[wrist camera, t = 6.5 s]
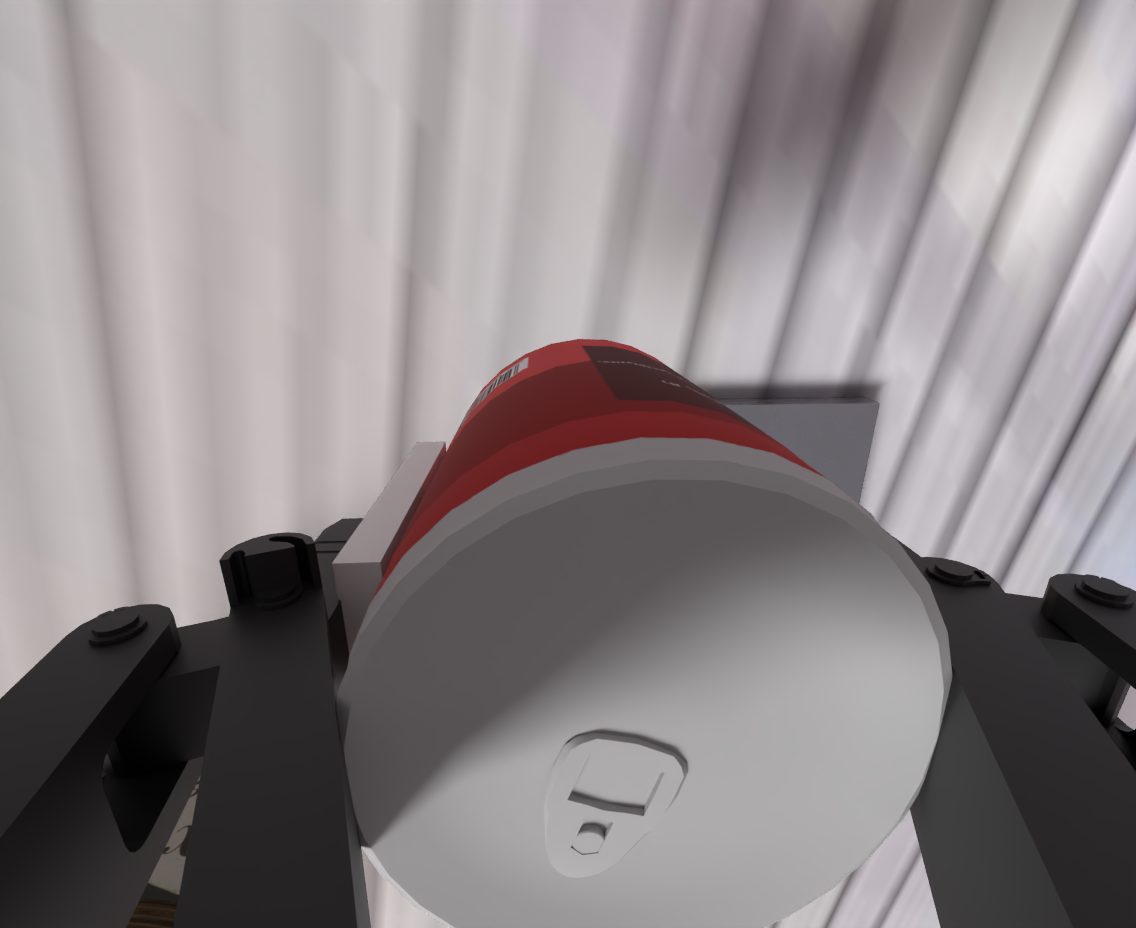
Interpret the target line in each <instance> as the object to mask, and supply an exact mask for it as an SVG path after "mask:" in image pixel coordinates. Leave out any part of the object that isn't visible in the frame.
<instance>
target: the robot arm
mask: <svg viewBox="0 0 1136 928" xmlns="http://www.w3.org/2000/svg"><path fill="white" fill-rule="evenodd" d="M445 454H446V444H445V442H417V443H416V445H415V446H414V448H413V449H412V450H411V452H410V453H409V455H408V456H407V458H406V459H405V460H404V462H403V463H402V465H401V466H400V467H399V469H398V470H397V472H396V473H395V475H394V476H393V477H392V479H391V480H390V482H389V483H388V485H387V486H386V487H385V489H384V490H383V492H382V493H381V494H380V496H379V497H378V499H377V500H376V502H375V503H374V504H373V506H372V507H371V509H370V510H369V511H368V513H367V514H366V516H365V517H364V518H357V519H342V520H340V521H338V522H336V523H335V524H333V525H331V526H330V527H328V528H326V529H325V530H324V531H323V532H322V533H321V534H320V536H319V537H318V538H317V539H316V540H315V542H314V541H313V539H312V538H311V537H310V536H307V535H304V534H301V533H277V534H269V535H265V536H261V537H257V538H253V539H250V540H248V541H245V542H243V543H240V544H238V545H236V546H234V547H233V548H231V549H230V550H228V551H227V552H225V553H224V555H223V556H222V558H221V559H220V561H219V562H220V566H221V570H222V574H223V578H224V582H225V586H226V590H227V595H228V599H229V603H230V607H231V609H230V614H229V617H225V618H221V619H218V620H213V621H209V622H204V623H199V624H194V625H189V626H184V627H179V628H177V627H176V623H175V620H174V616H173V614H172V612H171V610H170V608H168V607H165V606H162V605H159V604H144V605H137V606H131V607H121V608H118V609H114V611H108V612H105V613H103V614H100V615H99V616H98V617H96V618H94V619H92V620H90V621H88V622H86V623H84V624H82V625H80V626H79V627H78V628H76V629H75V630H74V631H72V632H71V633H69V634H68V635H67V636H66V637H65V638H64V639H62V640H61V641H60V642H59V643H58V644H57V645H56V646H55V647H54V648H53V649H52V650H51V651H50V652H49V653H48V654H47V655H46V656H45V657H44V658H43V659H42V660H40V661H39V662H38V663H37V664H36V665H35V666H34V667H33V668H32V669H31V670H30V671H29V672H28V673H27V674H26V675H25V676H24V677H23V678H22V679H21V680H20V681H19V682H17V683H16V684H15V685H14V686H13V687H12V688H11V689H10V690H9V691H8V692H7V693H6V694H5V695H4V696H3V697H2V698H1V699H0V928H126V927H127V925H128V923H129V920H130V918H131V916H132V914H133V912H134V910H135V908H136V906H137V904H138V902H139V900H140V898H141V896H142V894H143V892H144V890H145V888H146V886H147V884H148V882H149V880H150V877H151V875H152V873H153V871H154V869H155V867H156V865H157V863H158V861H159V859H160V857H161V855H162V853H163V851H164V849H165V847H166V845H167V843H168V841H169V839H170V837H171V834H172V832H173V830H174V828H175V826H176V824H177V822H178V820H179V818H180V816H181V814H182V812H183V810H184V808H185V806H186V804H187V802H188V800H189V798H190V796H191V794H192V791H193V789H194V787H195V785H196V783H197V781H198V779H199V777H200V781H199V787H198V792H197V798H196V804H195V809H194V815H193V820H192V826H191V831H190V837H189V843H188V848H187V854H186V859H185V865H184V870H183V876H182V882H181V887H180V893H179V898H178V904H177V909H176V915H175V921H174V926H173V928H371V924H370V916H369V908H368V900H367V892H366V884H365V876H364V867H363V859H362V851H361V844H360V839H359V834H358V829H357V824H356V818H355V813H354V807H353V802H352V796H351V791H350V785H349V780H348V774H347V769H346V763H345V758H344V752H343V746H342V740H341V734H340V729H339V723H338V717H337V711H336V705H337V698H338V691H339V687H340V685H341V682H342V680H343V677H344V675H345V672H346V670H347V667H348V661H349V654H350V652H351V649H352V647H353V644H354V642H355V639H356V637H357V635H358V632H359V630H360V627H361V625H362V622H363V620H364V617H365V615H366V612H367V610H368V607H369V605H370V603H371V601H372V599H373V597H374V595H375V593H376V591H377V589H378V587H379V585H380V583H381V581H382V579H383V577H384V575H385V572H386V570H387V567H388V565H389V562H390V560H391V557H392V555H393V553H394V552H395V550H396V548H397V546H398V544H399V542H400V540H401V538H402V536H403V534H404V532H405V530H406V529H407V527H408V525H409V523H410V521H411V519H412V517H413V515H414V513H415V511H416V509H417V507H418V506H419V504H420V502H421V500H422V498H423V496H424V494H425V492H426V490H427V488H428V486H429V484H430V483H431V481H432V479H433V477H434V475H435V473H436V471H437V469H438V467H439V465H440V463H441V461H442V460H443V458H444V456H445ZM894 538H895V537H894ZM895 539H896V538H895ZM896 540H897V539H896ZM897 541H898V542H899V544H900V545H901V546H902V548H903V549H904V550H905V552H906V553H907V554H908V556H909V557H910V559H911V560H912V561H913V563H914V564H915V565H916V567H917V568H918V569H919V571H920V572H921V573H922V575H923V576H924V578H925V579H926V580H927V582H928V583H929V585H930V587H931V590H932V592H933V595H934V598H935V600H936V603H937V605H938V608H939V611H940V613H941V616H942V618H943V621H944V624H945V626H946V629H947V631H948V639H949V649H950V658H951V667H952V681H951V686H950V690H949V694H948V699H947V703H946V707H945V711H944V715H943V720H942V724H941V728H940V732H939V736H938V740H937V743H936V746H935V749H934V752H933V755H932V758H931V761H930V765H929V768H928V771H927V774H926V777H925V780H924V782H923V785H922V787H921V789H920V791H919V794H918V796H917V797H916V799H915V801H914V802H913V804H912V806H911V807H910V811H911V815H912V819H913V823H914V826H915V830H916V834H917V838H918V842H919V846H920V850H921V853H922V857H923V861H924V865H925V869H926V873H927V877H928V880H929V884H930V888H931V892H932V896H933V900H934V904H935V907H936V911H937V915H938V919H939V923H940V927H941V928H1136V729H1135V730H1133V729H1131V728H1130V727H1128V726H1127V725H1126V724H1125V723H1124V722H1123V721H1121V720H1120V719H1119V718H1118V717H1117V716H1118V713H1119V711H1120V709H1121V706H1122V704H1123V702H1124V699H1125V697H1126V695H1127V692H1128V690H1129V688H1130V685H1131V686H1132V687H1133V688H1135V689H1136V591H1134V590H1132V589H1130V588H1127V587H1125V586H1122V585H1120V584H1118V583H1116V582H1115V581H1113V580H1110V579H1106V578H1103V577H1101V578H1099V576H1094V575H1088V574H1087V575H1078V574H1057V575H1055V576H1053V577H1051V578H1050V579H1049V582H1048V585H1047V588H1046V591H1045V594H1044V597H1043V598H1038V597H1030V596H1023V595H1016V594H1008V593H1005V592H1004V591H1003V589H1002V588H1001V587H1000V585H999V584H998V583H997V582H996V581H995V580H994V579H993V578H992V577H991V576H989V575H988V574H986V573H985V572H984V571H981V570H979V569H977V568H975V567H972V566H969V565H966V564H964V563H961V562H958V561H953V560H948V559H944V558H934V557H923V558H922V557H920V556H919V555H918V554H916V553H915V552H914V551H912V550H911V549H909V548H908V547H907V546H905V545H904V544H903V543H901V542H900V541H899V540H897ZM200 775H201V776H200Z"/></svg>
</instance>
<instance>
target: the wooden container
mask: <svg viewBox="0 0 1136 928" xmlns="http://www.w3.org/2000/svg"><path fill="white" fill-rule="evenodd" d="M200 776H201V775H200ZM199 781H200V777H199V779H198V781H197V783H196V785H195V787H194V789H193V791H192V794H191V796H190V798H189V800H188V802H187V804H186V806H185V808H184V810H183V812H182V814H181V816H180V818H179V820H178V822H177V824H176V826H175V828H174V830H173V832H172V834H171V837H170V839H169V841H168V843H167V845H166V847H165V849H164V851H163V853H162V855H161V857H160V859H159V861H158V863H157V865H156V867H155V869H154V871H153V873H152V875H151V877H150V880H149V882H148V884H147V886H146V888H145V890H144V892H143V894H142V896H141V898H140V900H139V902H138V904H137V906H136V908H135V910H134V912H133V914H132V916H131V918H130V920H129V923H128V925H127V927H126V928H173V926H174V921H175V915H176V909H177V904H178V898H179V893H180V887H181V882H182V876H183V870H184V865H185V859H186V854H187V848H188V843H189V837H190V831H191V826H192V820H193V815H194V809H195V804H196V798H197V792H198V787H199Z"/></svg>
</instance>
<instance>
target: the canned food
mask: <svg viewBox="0 0 1136 928" xmlns="http://www.w3.org/2000/svg"><path fill="white" fill-rule="evenodd" d="M951 681H952V667H951V658H950V649H949V639H948V631H947V629H946V626H945V624H944V621H943V618H942V616H941V613H940V611H939V608H938V605H937V603H936V600H935V598H934V595H933V592H932V590H931V587H930V585H929V583H928V582H927V580H926V579H925V578H924V576H923V575H922V573H921V572H920V571H919V569H918V568H917V567H916V565H915V564H914V563H913V561H912V560H911V559H910V557H909V556H908V554H907V553H906V552H905V550H904V549H903V548H902V546H901V545H900V544H899V542H898V541H897V540H896V539H895V538H894V537H893V536H891V535H890V534H889V533H888V532H886V531H885V530H884V529H883V528H881V526H880V525H879V524H878V522H877V521H876V520H875V518H874V517H873V516H872V514H871V513H869V512H868V511H867V510H866V509H865V508H863V507H862V506H861V505H860V504H858V503H857V502H856V501H855V500H853V499H852V498H851V497H850V496H848V495H847V494H846V493H845V492H843V491H842V490H841V489H840V488H839V487H837V486H836V485H835V484H834V483H832V482H831V481H830V480H829V479H827V478H826V477H825V476H823V475H822V474H820V473H819V472H817V471H816V470H815V469H813V468H812V467H810V466H809V465H808V464H806V463H805V462H804V461H803V460H801V459H800V458H799V457H798V456H796V455H795V454H794V453H793V452H792V451H790V450H789V449H788V448H786V447H785V446H784V445H782V444H781V443H779V442H778V441H776V440H775V439H773V438H772V437H770V436H769V435H767V434H766V433H764V432H763V431H762V430H760V429H759V428H757V427H756V426H754V425H753V424H751V423H750V422H748V421H747V420H745V419H744V418H742V417H741V416H740V415H738V414H737V413H735V412H734V411H732V410H731V409H729V408H728V407H726V406H725V405H723V404H722V403H721V402H719V401H718V400H716V399H715V398H713V397H712V396H710V395H709V394H707V393H706V392H704V391H703V390H701V389H700V388H699V387H697V386H696V385H694V384H693V383H691V382H690V381H688V380H687V379H685V378H684V377H682V376H681V375H679V374H678V373H677V372H675V371H674V370H672V369H671V368H669V367H668V366H666V365H665V364H663V363H662V362H660V361H659V360H658V359H656V358H654V357H652V356H650V355H648V354H646V353H644V352H642V351H640V350H638V349H636V348H634V347H632V346H628V345H624V344H620V343H616V342H612V341H608V340H590V339H577V340H571V341H565V342H560V343H554V344H550V345H548V346H545V347H543V348H540V349H538V350H535V351H533V352H530V353H528V354H525V355H524V356H522V357H521V358H519V359H518V360H516V361H515V362H513V363H512V364H510V365H509V366H507V367H505V368H504V369H502V370H501V371H500V372H499V373H498V374H497V375H496V376H495V377H494V378H493V379H492V380H491V381H490V382H489V383H488V384H487V385H486V386H485V387H484V388H483V389H482V391H481V392H480V394H479V395H478V397H477V398H476V400H475V401H474V403H473V404H472V406H471V407H470V409H469V410H468V412H467V414H466V415H465V417H464V419H463V421H462V423H461V425H460V427H459V429H458V431H457V433H456V435H455V437H454V438H453V440H452V442H451V444H450V446H449V448H448V450H447V452H446V454H445V456H444V458H443V460H442V461H441V463H440V465H439V467H438V469H437V471H436V473H435V475H434V477H433V479H432V481H431V483H430V484H429V486H428V488H427V490H426V492H425V494H424V496H423V498H422V500H421V502H420V504H419V506H418V507H417V509H416V511H415V513H414V515H413V517H412V519H411V521H410V523H409V525H408V527H407V529H406V530H405V532H404V534H403V536H402V538H401V540H400V542H399V544H398V546H397V548H396V550H395V552H394V553H393V555H392V557H391V560H390V562H389V565H388V567H387V570H386V572H385V575H384V577H383V579H382V581H381V583H380V585H379V587H378V589H377V591H376V593H375V595H374V597H373V599H372V601H371V603H370V605H369V607H368V610H367V612H366V615H365V617H364V620H363V622H362V625H361V627H360V630H359V632H358V635H357V637H356V639H355V642H354V644H353V647H352V649H351V652H350V654H349V661H348V667H347V670H346V672H345V675H344V677H343V680H342V682H341V685H340V687H339V691H338V698H337V705H336V711H337V717H338V723H339V729H340V734H341V740H342V746H343V752H344V758H345V763H346V769H347V774H348V780H349V785H350V791H351V796H352V802H353V807H354V813H355V818H356V824H357V829H358V834H359V839H360V844H361V847H362V848H363V850H364V851H365V853H366V854H367V856H368V857H369V859H370V860H371V862H372V863H373V865H374V866H375V868H376V869H377V871H378V872H379V873H380V874H381V875H382V876H383V877H384V878H385V879H386V880H387V881H388V882H389V883H390V884H391V885H392V886H393V887H394V888H395V889H396V890H398V891H399V892H400V893H401V894H402V895H403V896H404V897H405V898H406V899H407V900H408V901H409V902H410V903H411V904H412V905H414V906H415V907H417V908H418V909H420V910H421V911H423V912H425V913H426V914H428V915H429V916H431V917H433V918H434V919H436V920H437V921H439V922H440V923H442V924H444V925H445V926H447V927H448V928H764V927H766V926H769V925H771V924H773V923H775V922H777V921H780V920H782V919H784V918H786V917H788V916H790V915H792V914H793V913H795V912H796V911H798V910H800V909H801V908H803V907H804V906H806V905H808V904H809V903H811V902H812V901H814V900H816V899H817V898H819V897H820V896H822V895H824V894H825V893H827V892H828V891H830V890H831V889H833V888H834V887H835V886H836V885H837V884H839V883H840V882H841V881H842V880H843V879H845V878H846V877H847V876H848V875H849V874H850V873H852V872H853V871H854V870H855V869H856V868H858V867H859V866H860V865H861V864H862V863H864V862H865V861H866V860H867V859H868V858H869V857H871V855H872V854H873V853H874V852H875V851H876V850H877V849H878V847H879V846H880V845H881V844H882V843H883V842H884V840H885V839H886V838H887V837H888V836H889V835H890V834H891V832H892V831H893V830H894V829H895V828H896V827H897V826H898V824H899V823H900V822H901V821H902V820H903V819H904V817H905V815H906V814H907V812H908V810H909V809H910V807H911V806H912V804H913V802H914V801H915V799H916V797H917V796H918V794H919V791H920V789H921V787H922V785H923V782H924V780H925V777H926V774H927V771H928V768H929V765H930V761H931V758H932V755H933V752H934V749H935V746H936V743H937V740H938V736H939V732H940V728H941V724H942V720H943V715H944V711H945V707H946V703H947V699H948V694H949V690H950V686H951Z"/></svg>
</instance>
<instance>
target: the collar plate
mask: <svg viewBox="0 0 1136 928" xmlns="http://www.w3.org/2000/svg"><path fill="white" fill-rule="evenodd" d="M716 400H718V401H719V402H721V403H722V404H723V405H725V406H726V407H728V408H729V409H731V410H732V411H734V412H735V413H737V414H738V415H740V416H741V417H742V418H744V419H745V420H747V421H748V422H750V423H751V424H753V425H754V426H756V427H757V428H759V429H760V430H762V431H763V432H764V433H766V434H767V435H769V436H770V437H772V438H773V439H775V440H776V441H778V442H779V443H781V444H782V445H784V446H785V447H786V448H788V449H789V450H790V451H792V452H793V453H794V454H795V455H796V456H798V457H799V458H800V459H801V460H803V461H804V462H805V463H806V464H808V465H809V466H810V467H812V468H813V469H815V470H816V471H817V472H819V473H820V474H822V475H823V476H825V477H826V478H827V479H829V480H830V481H831V482H832V483H834V484H835V485H836V486H837V487H839V488H840V489H841V490H842V491H843V492H845V493H846V494H847V495H848V496H850V497H851V498H852V499H853V500H855V501H856V502H857V503H858V504H859V501H860V496H861V491H862V486H863V481H864V476H865V471H866V466H867V462H868V457H869V452H870V447H871V442H872V437H873V432H874V427H875V422H876V418H877V413H878V408H879V403H878V402H875V401H873V400H870V399H868V398H865V397H862V398H781V399H716Z"/></svg>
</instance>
